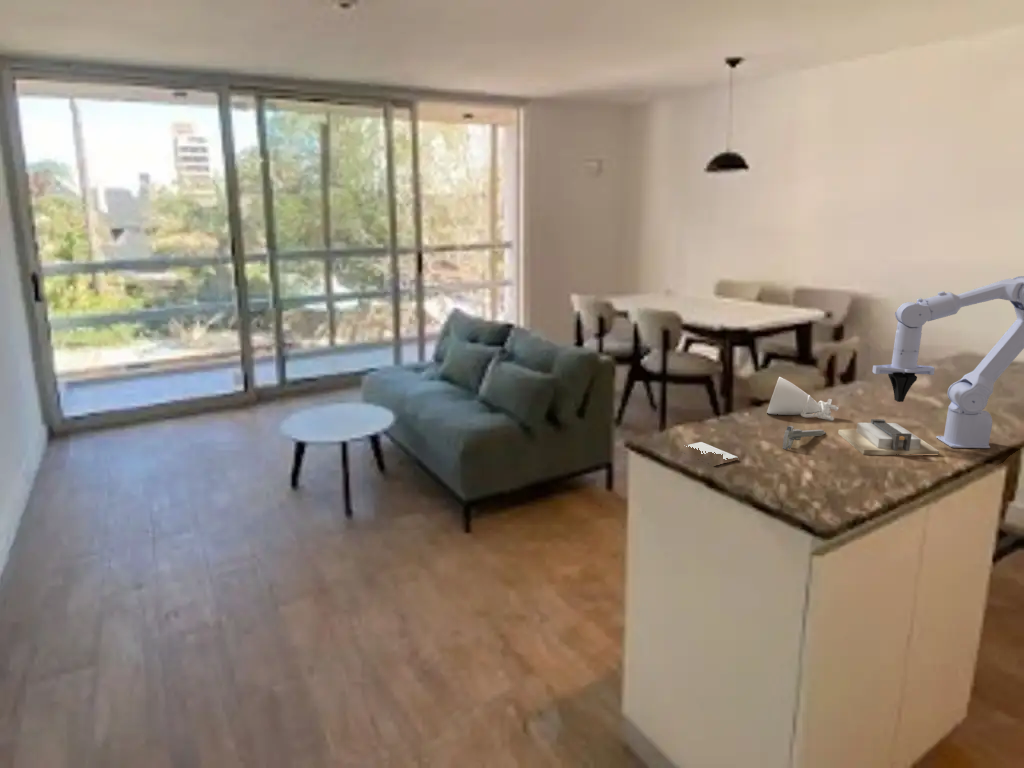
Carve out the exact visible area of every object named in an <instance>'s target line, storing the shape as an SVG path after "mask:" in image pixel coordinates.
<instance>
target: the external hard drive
mask: <svg viewBox="0 0 1024 768" xmlns="http://www.w3.org/2000/svg"><path fill="white" fill-rule="evenodd" d="M687 445H688V447H689V446H690V447H691V448H692V447H693V448H694V449H695V448H696V449H697V450H698V448H699V450H700V451H701V454H703V453H704V454H706V453H708V452H712V453H714V452H715V453H716V454H721V455H722V454H723V459H725V460H727V459H726V458H728V459H733V458H738V457H739V456H737V455H734V454H731V453H730V452H727V451H724V450H723V449H721V448H720V449H719V448H717V447H715V446H712V445H710V444H708V443H705V442H703V441H699V442H694V443H691V444H687ZM686 447H687V446H686ZM702 451H703V453H702ZM705 451H706V453H705ZM715 453H714V454H715ZM738 459H739V458H738Z"/></svg>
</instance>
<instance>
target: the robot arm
mask: <svg viewBox="0 0 1024 768" xmlns="http://www.w3.org/2000/svg"><path fill="white" fill-rule="evenodd" d="M993 300H1004V301H1009V302H1010V303H1011V304H1012V306H1013V308H1014V311H1015V312H1014V313H1015V315H1016V319H1015V321H1014V322H1013V323H1012V325H1010V326H1009V328H1008V329H1007V330H1006V331H1005V333H1004V334H1003V335H1002V336H1001V337H1000V338H999V340H998V341H997V342H996V343H995V344H994V346H993V347H992V348H991V349H990V350H989V352H988V353H987V354H986V355H985V356H984V357H983V359H981V361H980V362H979V363H978V364H977V366H976V367H975V368H974V369H973V370H971V371H970V372H968V373H966V374H964V375H963V376H962V378H960V379H959V380H957V381H955V382H953V383H951V384H950V386H949V387H948V389H947V397H948V399H949V400H950V404H949V405H948V408H947V414H946V420H945V427H944V433H943V435H937V436H935V437H936V439H937V438H938V440H939V441H940V442H942V443H944V444H946V445H947V446H948V447H950V448H953V449H954V448H957V449H958V448H961V449H962V448H963V449H990V448H991V446H990V445H989V444H990V439H991V434H992V428H993V418H992V415H991V413H990V412H989V411H987V410H985V408H986V407H987V404H988V401H989V399H990V397H991V396H992V394H993V393H994V386H995V383H996V382H997V380H998V379H999V378H1000V377H1001V375H1002V374H1003V373H1004V372H1005V371H1006V370H1007V369H1008V367H1009V366H1010V365H1011V364H1012V363H1013V361H1014V360H1016V358H1017V357H1018V356H1019V355H1020V354H1021V352H1023V351H1024V276H1023V275H1021V276H1016V277H1013V278H1005V279H1001V280H999V281H995V282H992V283H989V284H986V285H982V286H981V287H978V288H977V287H976V288H973V289H971V290H967V291H965V292H962V293H958V294H955V293H952V292H950V291H948V292H945V291H938V292H937V295H933V296H930V297H926V298H921V297H920V298H917V299H916V302H914V301H907V302H903V303H902V304H901V305H900V306H899V307H898V308H897V310H896V311H895V313H894V316H895V319H896V321H897V325H896V331H895V336H894V344H893V350H892V357H891V364H881V365H880V364H879V365H878V364H876V365H872V374H874V375H880V374H881V375H884V374H885V375H888V378H889V380H890V383H891V386H892V390H893V396H894V398H893V399H894V401H896V402H898V403H904V401H905V399H906V396H907V394H908V392H909V390H910V389H911V387H912V386H913V385H914V384H915V382H916V381H918V376H917V375H929V376H934V375H935V370H936V368H935V367H934V366H932V365H921V364H920V365H918V359H919V354H920V346H921V340H922V334H923V333H922V330H923V326H924V325H925V324H926V322H932V321H934V320H939V319H942V318H946V317H949V316H953V315H956V314H958V312H959V310H961V308H964V307H969V306H972V305H977V304H980V303H984V302H989V301H993Z"/></svg>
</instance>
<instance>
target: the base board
mask: <svg viewBox="0 0 1024 768" xmlns="http://www.w3.org/2000/svg"><path fill="white" fill-rule="evenodd" d="M873 422H886V420H885V419H882V418H881V419H880V418H872V419H870V422H857V424H856V429H838V433H837V434H838V435H839V436H840V437H842V439H844V440H845V441H846V442H847V443H849V444H850V445H851V446H853V448H854V449H856V450H857V451H858V452H859V453H860V454H862V455H863V456H864V455H866V456H868V455H873V456H875V455H876V456H899V455H898V454H939V455H940V450H938V449H937V448H936V447H934V446H932V445H931V444H929V443H928V442H926V441H924V440H923V439H922V438H920V437H919V436H917V435H915V434H914V433H913V432H911V431H909V430H908V429H906V428H904V427H903V426H901V425H900V424H898V423H897V422H886V423H887V424H889V425H890V426H892V427H893V428H895V429H896V430H898V431H899V432H901V433H896V434H893V435H892V437H891V436H890V435H888V434H887V433H885V432H884V431H882V430H881V429H880V428H878V427H877V426H875V425H874V424H873ZM899 436H904V437H905V439H904V440H899ZM896 454H897V455H896Z"/></svg>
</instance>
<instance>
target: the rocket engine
mask: <svg viewBox="0 0 1024 768" xmlns="http://www.w3.org/2000/svg"><path fill="white" fill-rule="evenodd" d="M832 402H833V399H832V398H828V399H827V401H826V402H825V401H824V400H819V401H816V400H815V399H814V398H813V397H812V396H811V395H810V394H808V393H807V392H805V391H804V390H803V389H801V388H800V387H799V386H797V385H795V384H794V383H793V382H791V381H789V380H787V379H786V378H783V377H781V376H778V379H777V381H776V384H775V387H774V389H773V393H772V396H771V398H770V401H769V405H768V408H767V410H766V414H767V413H768V414H769V415H777V414H778V415H779V416H798V415H800V416H801V417H803V418H810V419H811V418H818V419H822V420H827V421H830V422H833V421H834V419H835V418H834V416H833V415H831V414H832V410H833V411H834V412H837V411H839V408H840V406H839V405H835V404H832Z"/></svg>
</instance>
